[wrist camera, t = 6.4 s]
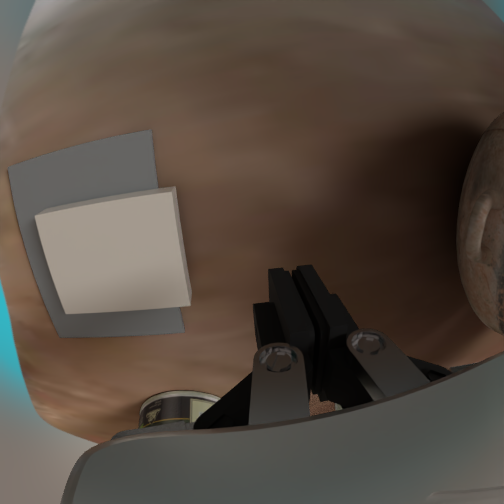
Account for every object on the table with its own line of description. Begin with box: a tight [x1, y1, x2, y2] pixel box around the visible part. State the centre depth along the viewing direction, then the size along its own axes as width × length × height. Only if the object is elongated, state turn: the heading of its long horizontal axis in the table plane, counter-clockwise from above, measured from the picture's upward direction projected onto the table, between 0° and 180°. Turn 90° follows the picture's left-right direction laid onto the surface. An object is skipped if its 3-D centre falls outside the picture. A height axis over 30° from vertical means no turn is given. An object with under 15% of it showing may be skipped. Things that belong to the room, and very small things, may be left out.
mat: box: [8, 130, 185, 338], centre depth 18 cm, size 11×14×1 cm
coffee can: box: [138, 391, 221, 429], centre depth 19 cm, size 10×10×14 cm
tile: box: [35, 186, 192, 314], centre depth 17 cm, size 2×7×9 cm
